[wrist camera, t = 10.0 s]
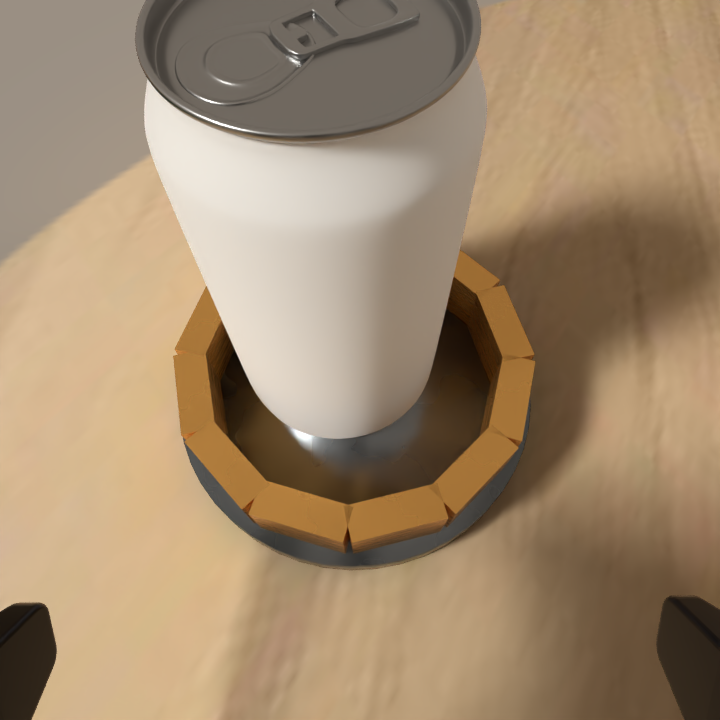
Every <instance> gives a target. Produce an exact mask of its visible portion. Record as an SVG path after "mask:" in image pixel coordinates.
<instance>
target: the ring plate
mask: <svg viewBox="0 0 720 720" xmlns="http://www.w3.org/2000/svg"><path fill="white" fill-rule="evenodd" d="M499 281H500V280H499V279H498V278H497V277H495V276H494V275H493V274H491V273H490V272H489V271H487V270H486V269H485V268H484V267H482V266H481V265H480V264H478V263H477V262H476V261H474V260H473V259H472V258H470V257H469V256H468V255H466V254H465V253H464V252H463V251H461V250H460V251H459V255H458V259H457V264H456V268H455V272H454V277H453V281H452V285H451V290H450V294H449V298H448V302H447V307H446V311H445V315H444V320H443V324H442V328H441V332H440V336H439V341H438V345H437V349H436V353H435V357H434V361H433V365H432V369H431V372H430V375H429V378H428V381H427V383H426V386H425V388H424V390H423V392H422V393H421V395H420V397H419V398H418V400H417V401H416V402H415V403H414V405H413V406H412V407H411V408H410V409H409V410H408V411H407V412H406V413H405V414H404V415H403V416H402V417H400V418H399V419H398V420H396V421H395V422H393V423H392V424H390V425H388V426H387V427H385V428H383V429H381V430H378V431H376V432H373V433H370V434H367V435H363V436H359V437H354V438H345V439H331V438H322V437H316V436H312V435H308V434H305V433H302V432H300V431H297V430H295V429H293V428H291V427H289V426H288V425H286V424H285V423H283V422H282V421H281V420H279V419H278V418H277V417H276V416H275V415H274V414H272V413H271V412H270V411H269V410H268V409H267V407H266V406H265V405H264V404H263V403H262V401H261V400H260V399H259V397H258V396H257V394H256V393H255V391H254V389H253V388H252V386H251V384H250V382H249V380H248V377H247V375H246V373H245V371H244V369H243V367H242V364H241V362H240V360H239V358H238V356H237V353H236V351H235V349H234V347H233V344H232V342H231V340H230V338H229V335H228V333H227V331H226V329H225V326H224V324H223V322H222V320H221V317H220V315H219V313H218V310H217V308H216V306H215V304H214V301H213V299H212V297H211V295H210V292H209V290H208V288H207V286H206V288H205V290H204V292H203V294H202V296H201V298H200V300H199V302H198V304H197V306H196V308H195V310H194V312H193V314H192V316H191V318H190V320H189V322H188V324H187V326H186V328H185V330H184V332H183V334H182V336H181V338H180V340H179V342H178V343H177V345H176V347H175V350H176V352H177V354H178V355H175V356H173V358H174V367H175V377H176V387H177V397H178V407H179V417H180V427H181V435H182V436H183V440H184V444H185V447H186V450H187V453H188V456H189V459H190V462H191V465H192V467H193V469H194V471H195V473H196V475H197V477H198V479H199V481H200V483H201V484H202V486H203V487H204V489H205V490H206V491H207V493H208V494H209V496H210V497H211V498H212V500H213V501H214V503H215V504H216V505H217V506H218V507H219V508H220V509H221V510H222V511H223V512H224V513H225V514H226V515H227V516H228V517H229V518H230V519H231V520H232V521H233V522H234V523H235V524H236V525H237V526H238V527H239V528H240V529H242V530H243V531H244V532H246V533H247V534H248V535H249V536H251V537H252V538H253V539H255V540H256V541H257V542H259V543H261V544H263V545H264V546H266V547H268V548H270V549H271V550H273V551H275V552H277V553H279V554H281V555H284V556H286V557H289V558H291V559H294V560H297V561H299V562H302V563H307V564H311V565H315V566H319V567H323V568H332V569H343V570H365V569H378V568H383V567H389V566H394V565H399V564H402V563H405V562H408V561H411V560H414V559H417V558H420V557H423V556H425V555H427V554H429V553H431V552H433V551H435V550H437V549H439V548H441V547H443V546H445V545H447V544H448V543H450V542H451V541H452V540H454V539H455V538H457V537H458V536H460V535H461V534H463V533H464V532H465V531H466V530H467V529H469V528H470V527H471V526H472V525H473V524H474V523H475V522H476V521H477V520H478V519H479V518H480V517H481V516H482V515H483V514H484V513H485V512H486V511H487V510H488V508H489V507H490V506H491V505H492V504H493V502H494V501H495V500H496V499H497V497H498V496H499V495H500V494H501V492H502V491H503V490H504V488H505V486H506V485H507V483H508V481H509V479H510V478H511V476H512V474H513V473H514V471H515V469H516V466H517V464H518V461H519V459H520V456H521V454H522V452H523V449H524V445H525V441H526V437H527V432H528V428H529V418H530V407H531V404H530V391H531V385H532V379H533V373H534V368H535V362H536V361H532V358H533V356H534V355H535V354H534V352H533V350H532V347H531V345H530V343H529V341H528V338H527V336H526V334H525V331H524V329H523V327H522V325H521V322H520V320H519V318H518V316H517V313H516V311H515V309H514V306H513V304H512V302H511V300H510V297H509V295H508V293H507V291H506V288H505V286H504V285H503V286H498V284H499Z"/></svg>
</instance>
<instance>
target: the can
mask: <svg viewBox="0 0 720 720" xmlns="http://www.w3.org/2000/svg"><path fill="white" fill-rule="evenodd" d="M480 35H481V17H480V11H479V7H478V4H477V1H476V0H146V1H145V3H144V5H143V7H142V9H141V12H140V14H139V17H138V21H137V26H136V33H135V43H136V51H137V56H138V59H139V62H140V65H141V67H142V69H143V71H144V73H145V75H146V77H147V78H148V80H147V87H146V95H145V107H144V120H145V121H144V122H145V132H146V137H147V141H148V144H149V148H150V151H151V155H152V158H153V161H154V163H155V166H156V168H157V171H158V173H159V176H160V179H161V181H162V184H163V186H164V188H165V191H166V193H167V195H168V198H169V200H170V202H171V205H172V207H173V209H174V212H175V214H176V217H177V219H178V221H179V223H180V226H181V228H182V230H183V233H184V235H185V237H186V240H187V242H188V244H189V247H190V249H191V251H192V253H193V256H194V258H195V260H196V263H197V265H198V267H199V269H200V272H201V274H202V276H203V279H204V281H205V283H206V285H207V288H208V290H209V292H210V295H211V297H212V299H213V301H214V304H215V306H216V308H217V310H218V313H219V315H220V317H221V320H222V322H223V324H224V326H225V329H226V331H227V333H228V335H229V338H230V340H231V342H232V344H233V347H234V349H235V351H236V353H237V356H238V358H239V360H240V362H241V364H242V367H243V369H244V371H245V373H246V375H247V377H248V380H249V382H250V384H251V386H252V388H253V389H254V391H255V393H256V394H257V396H258V397H259V399H260V400H261V401H262V403H263V404H264V405H265V406H266V407H267V409H268V410H269V411H270V412H271V413H272V414H274V415H275V416H276V417H277V418H278V419H279V420H281V421H282V422H283V423H285V424H286V425H288V426H289V427H291V428H293V429H295V430H297V431H300V432H302V433H305V434H308V435H312V436H316V437H322V438H331V439H345V438H354V437H359V436H363V435H367V434H370V433H373V432H376V431H378V430H381V429H383V428H385V427H387V426H388V425H390V424H392V423H393V422H395V421H396V420H398V419H399V418H400V417H402V416H403V415H404V414H405V413H406V412H407V411H408V410H409V409H410V408H411V407H412V406H413V405H414V403H415V402H416V401H417V400H418V398H419V397H420V395H421V393H422V392H423V390H424V388H425V386H426V383H427V381H428V378H429V375H430V372H431V369H432V365H433V361H434V357H435V353H436V349H437V345H438V341H439V336H440V332H441V328H442V324H443V320H444V315H445V311H446V307H447V302H448V298H449V294H450V290H451V285H452V281H453V277H454V272H455V268H456V264H457V259H458V255H459V251H460V246H461V242H462V237H463V233H464V229H465V224H466V220H467V215H468V211H469V206H470V202H471V198H472V193H473V188H474V184H475V179H476V175H477V170H478V166H479V161H480V156H481V151H482V145H483V140H484V135H485V128H486V118H487V98H486V91H485V86H484V81H483V77H482V74H481V70H480V67H479V64H478V61H477V58H476V55H475V54H476V52H477V49H478V45H479V41H480Z"/></svg>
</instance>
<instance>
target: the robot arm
mask: <svg viewBox="0 0 720 720" xmlns="http://www.w3.org/2000/svg"><path fill="white" fill-rule="evenodd" d="M656 645H657V653H658V657H659V660H660V662H661V665H662V667H663V669H664V672H665V674H666V677H667V679H668V681H669V684H670V686H671V689H672V691H673V694H674V696H675V698H676V701H677V703H678V706H679V708H680V710H681V713H682V715H683V718H684V720H720V609H718V608H716V607H715V606H713V605H711V604H710V603H708V602H706V601H705V600H703V599H701V598H699V597H697V596H691V595H690V596H669V597H667V598H666V599H665V601H664V603H663V607H662V612H661V618H660V623H659V629H658V634H657V641H656ZM56 653H57V648H56V642H55V637H54V633H53V628H52V624H51V619H50V615H49V611H48V608H47V607H46V605H45V604H43V603H15V604H13V605H11V606H9V607H7V608H6V609H4V610H2V611H1V612H0V720H32V717H33V715H34V712H35V710H36V708H37V705H38V703H39V700H40V698H41V696H42V693H43V691H44V688H45V686H46V683H47V681H48V679H49V676H50V674H51V671H52V669H53V666H54V664H55V660H56Z"/></svg>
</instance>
